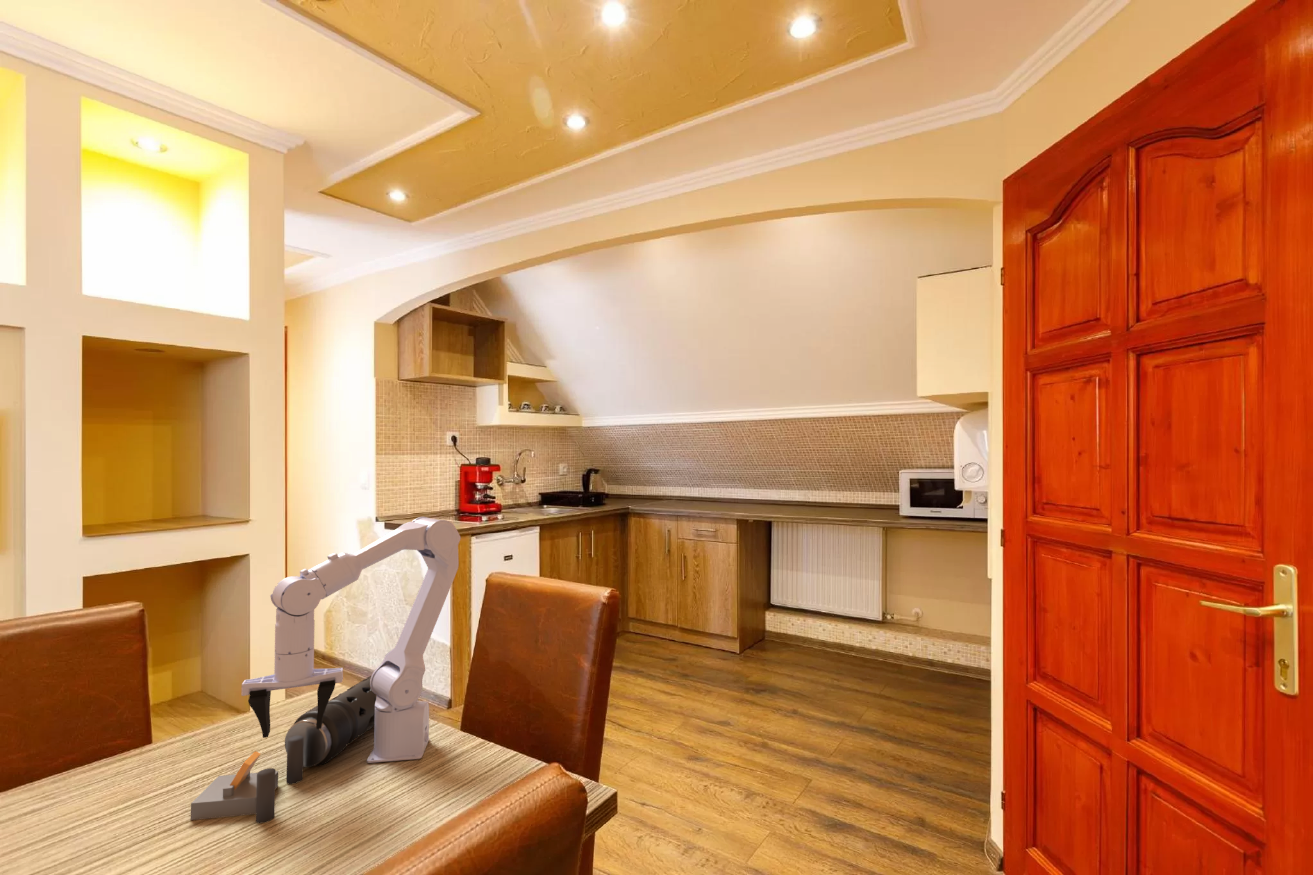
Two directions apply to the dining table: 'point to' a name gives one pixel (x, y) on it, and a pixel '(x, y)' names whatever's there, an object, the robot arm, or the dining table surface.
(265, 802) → the cylinder
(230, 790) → the switch box
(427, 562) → the robot arm
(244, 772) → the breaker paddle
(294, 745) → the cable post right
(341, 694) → the muzzle brake
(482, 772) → the dining table surface
